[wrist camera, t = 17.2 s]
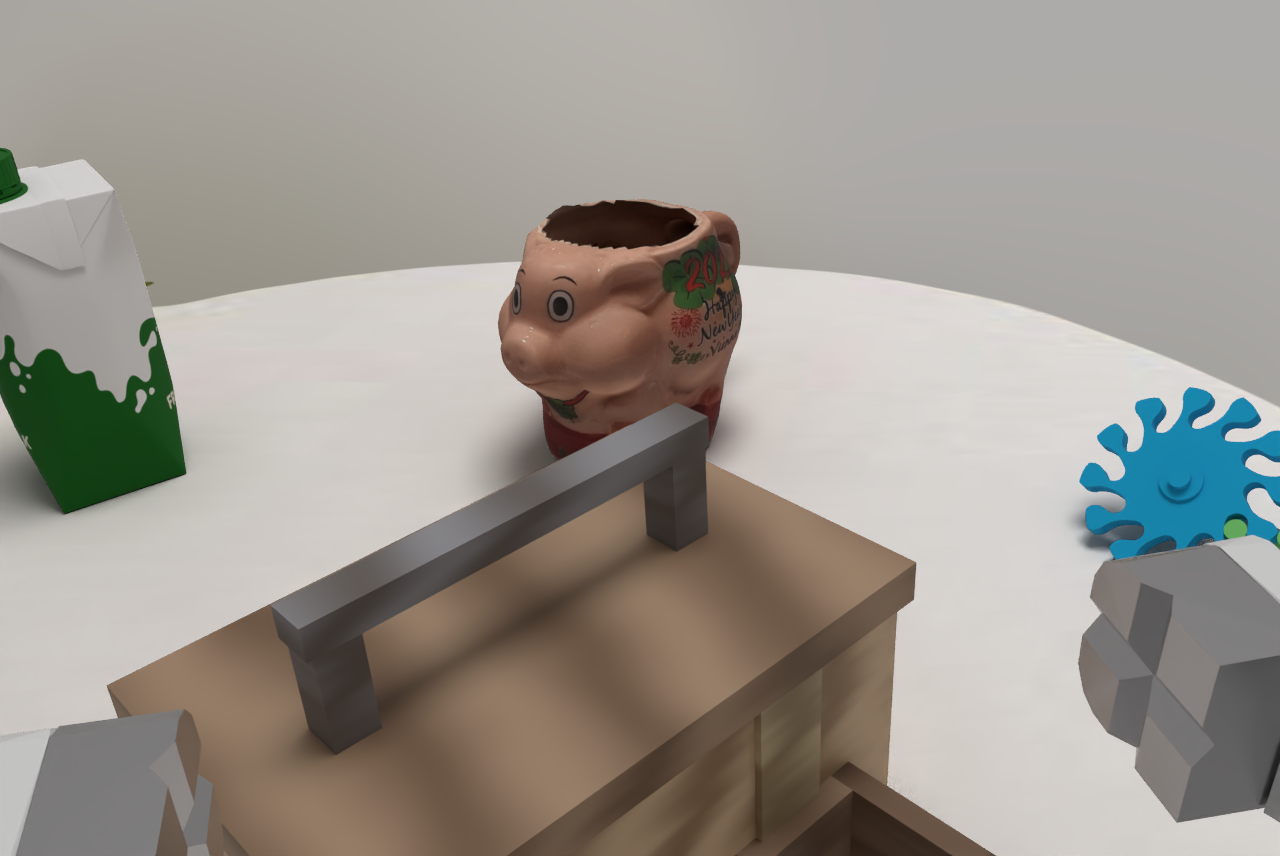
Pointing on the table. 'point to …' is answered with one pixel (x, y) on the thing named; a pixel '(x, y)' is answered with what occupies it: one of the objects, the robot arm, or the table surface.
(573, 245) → the pink ceramic mug
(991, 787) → the table surface
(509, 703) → the toolbox
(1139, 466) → the gear
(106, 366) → the milk carton
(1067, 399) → the table surface
